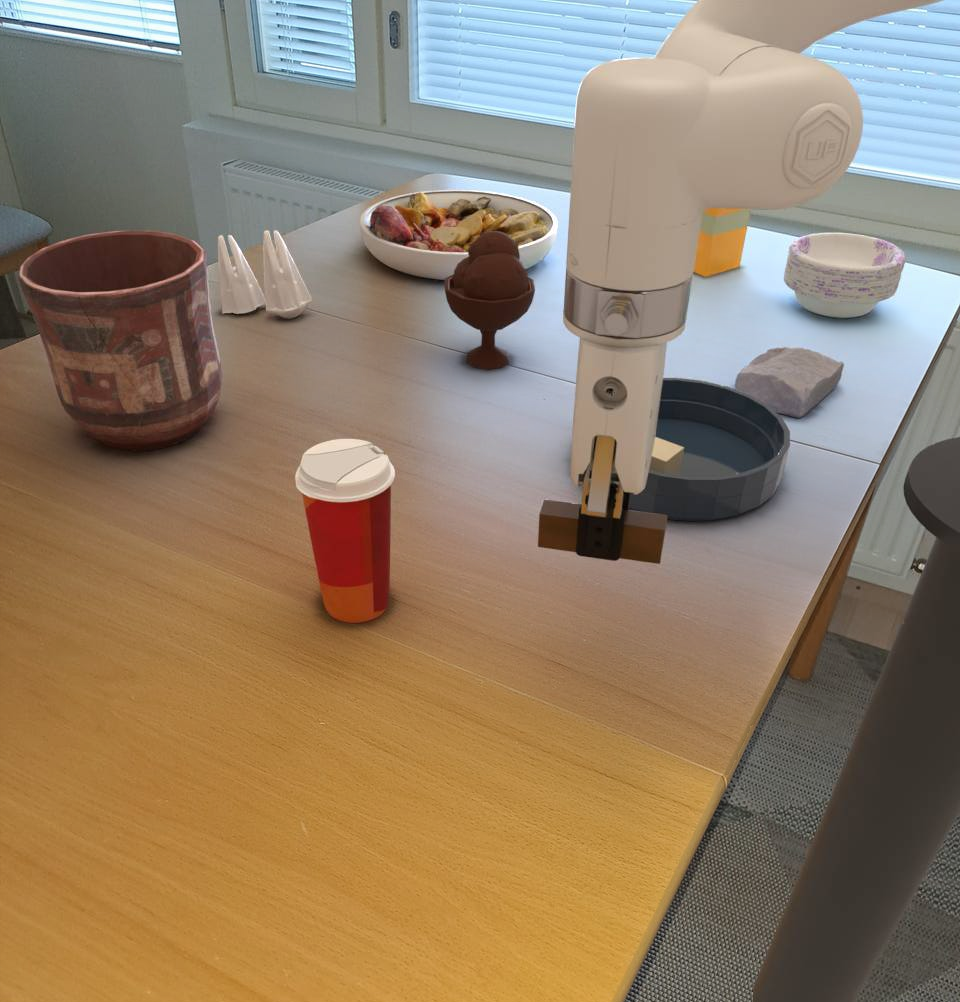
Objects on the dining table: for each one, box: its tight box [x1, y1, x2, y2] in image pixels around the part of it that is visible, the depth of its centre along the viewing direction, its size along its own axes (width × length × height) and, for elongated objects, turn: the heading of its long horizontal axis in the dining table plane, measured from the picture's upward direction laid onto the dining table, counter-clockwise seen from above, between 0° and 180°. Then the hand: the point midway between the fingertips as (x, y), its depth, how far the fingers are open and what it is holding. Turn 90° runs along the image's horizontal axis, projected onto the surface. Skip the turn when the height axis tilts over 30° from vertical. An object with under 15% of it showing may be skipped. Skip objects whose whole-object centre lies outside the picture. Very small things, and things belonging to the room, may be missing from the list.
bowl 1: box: [359, 189, 559, 281], centre depth 144 cm, size 30×30×8 cm
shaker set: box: [217, 229, 313, 319], centre depth 124 cm, size 12×4×11 cm, turn 75°
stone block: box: [734, 346, 845, 419], centre depth 112 cm, size 12×5×10 cm
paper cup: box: [294, 438, 396, 624], centre depth 77 cm, size 8×8×14 cm
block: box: [649, 437, 684, 475], centre depth 95 cm, size 4×4×4 cm
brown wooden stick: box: [537, 498, 668, 565], centre depth 69 cm, size 9×2×3 cm, turn 77°
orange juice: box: [693, 208, 752, 278], centre depth 138 cm, size 8×9×20 cm
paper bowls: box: [783, 232, 907, 319], centre depth 130 cm, size 15×15×8 cm
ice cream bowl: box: [444, 231, 536, 371], centre depth 113 cm, size 11×11×15 cm
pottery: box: [17, 230, 223, 452], centre depth 98 cm, size 18×18×18 cm
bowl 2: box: [628, 377, 791, 522], centre depth 98 cm, size 21×21×5 cm
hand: (600, 543), depth 69 cm, fingers closed on brown wooden stick, 2 cm apart
